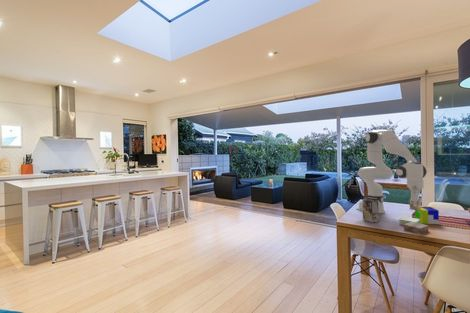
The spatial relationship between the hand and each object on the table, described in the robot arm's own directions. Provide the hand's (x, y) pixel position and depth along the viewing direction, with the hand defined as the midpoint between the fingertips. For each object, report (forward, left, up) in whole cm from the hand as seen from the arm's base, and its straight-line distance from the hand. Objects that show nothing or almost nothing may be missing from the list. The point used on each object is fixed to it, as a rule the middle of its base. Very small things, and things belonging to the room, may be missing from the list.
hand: (415, 205), depth 158 cm
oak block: (0, 0, -3) cm, 3 cm away
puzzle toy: (-3, +25, -17) cm, 30 cm away
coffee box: (-28, -4, -17) cm, 33 cm away
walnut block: (0, 0, -17) cm, 17 cm away
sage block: (-8, +10, -17) cm, 21 cm away
